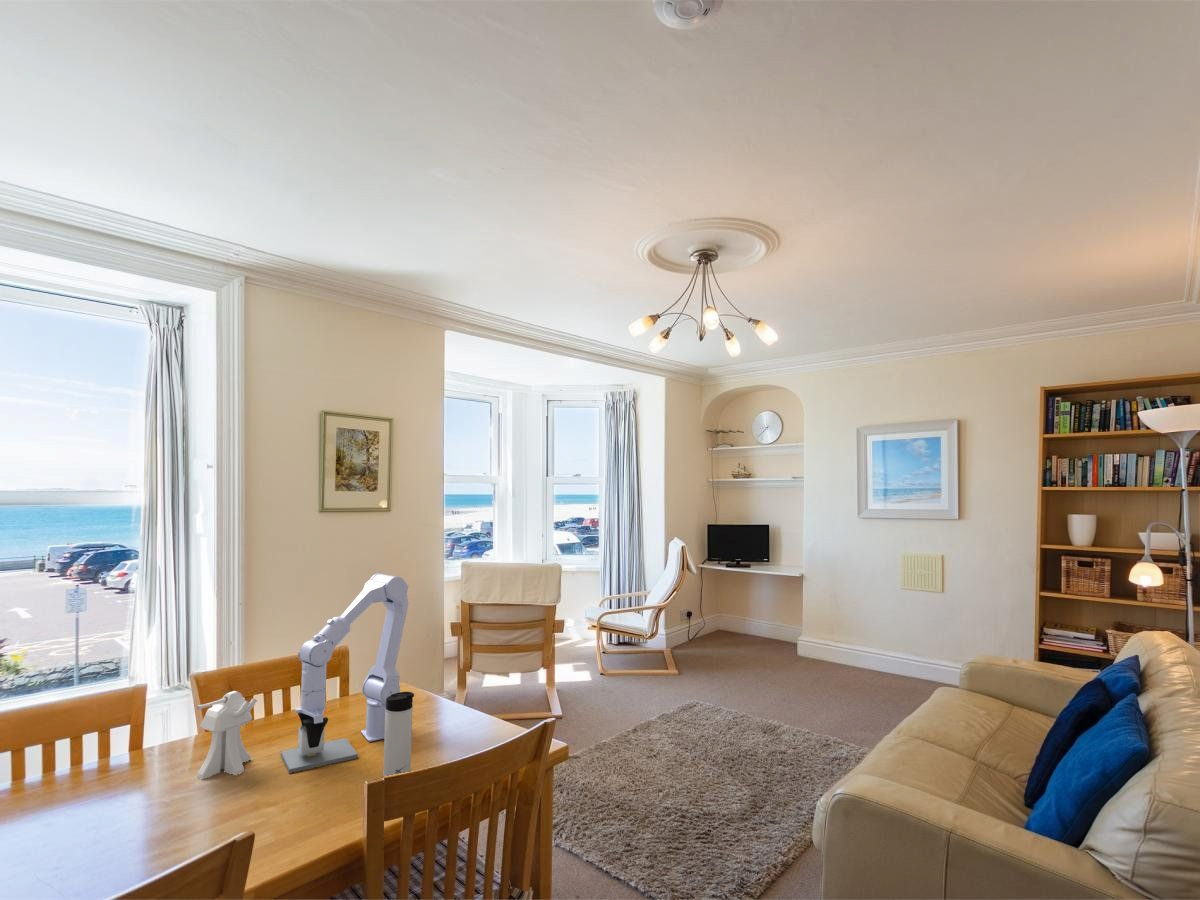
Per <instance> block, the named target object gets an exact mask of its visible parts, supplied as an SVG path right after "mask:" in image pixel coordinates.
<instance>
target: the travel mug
mask: <svg viewBox="0 0 1200 900" xmlns="http://www.w3.org/2000/svg"><path fill="white" fill-rule="evenodd" d="M414 697H415V693H413V692H412V691H400V692H399V693H395V694H392V695H391V696H389V697H387V698H386V709H385V710H386V711H385V737H384V743H383V766H382V767H383V768H382V769H383V772H382V778H383V777H384V776H389V775H393V774H399V773H405V772H410V773H411V766H412V765H411V763H412V735H413V707H414V706H413V698H414Z"/></svg>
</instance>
